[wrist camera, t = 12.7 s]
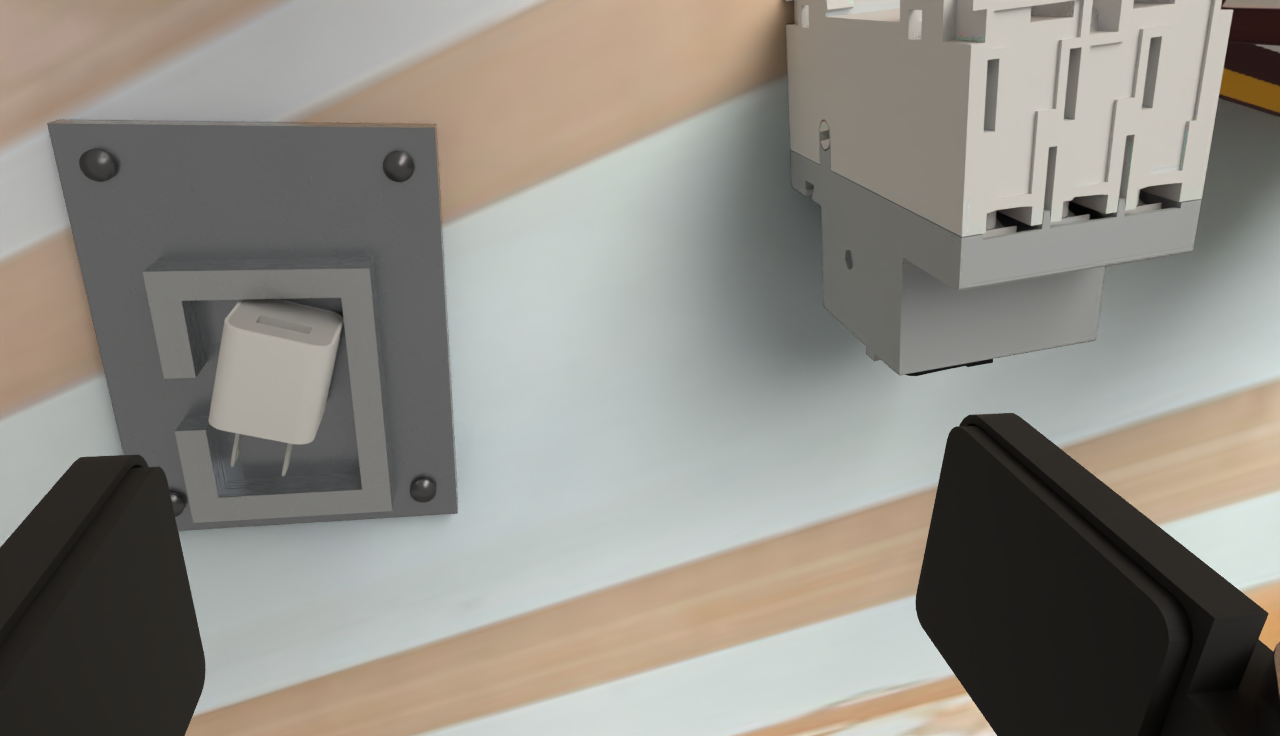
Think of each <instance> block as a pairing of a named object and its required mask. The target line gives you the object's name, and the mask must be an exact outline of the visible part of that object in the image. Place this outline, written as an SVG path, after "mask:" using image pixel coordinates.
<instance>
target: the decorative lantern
mask: <svg viewBox="0 0 1280 736" xmlns="http://www.w3.org/2000/svg"><path fill="white" fill-rule="evenodd" d="M1221 9H1226V10H1233V14H1232V20H1231V26H1230V32H1229V38H1228V44H1227V50H1226V56H1225V62H1224V68H1223V74H1222V80H1221V86H1220V92H1219V98H1221V99H1224V100H1227V101H1230V102H1234V103H1237V104H1240V105H1243V106H1247V107H1250V108H1253V109H1256V110H1259V111H1263V112H1266V113H1269V114H1272V115H1275V116H1279V117H1280V0H1222V4H1221Z"/></svg>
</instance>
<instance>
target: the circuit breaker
mask: <svg viewBox="0 0 1280 736" xmlns="http://www.w3.org/2000/svg"><path fill="white" fill-rule="evenodd" d="M785 1H793V0H785ZM1221 4H1222V0H794V17H795V24H788V25H786V43H787V72H788V100H789V129H790V158H791V185H792V188H794V189H795V190H797V191H798V192H800V193H802V194H803V195H805V196H812V200H813V201H814V202H816V203H817V204H819V205H820V206H821V221H822V265H823V305H824V307H825V308H826V309H827V310H828V311H829V312H830V313H831V314H832V315H833V316H834V317H835V318H837V319H838V320H839V321H840V322H841V323H842V324H843V325H844V326H845V327H846V328H847V329H849V330H850V331H851V332H852V333H853V334H854V335H855V336H856V337H857V338H858V339H859V340H860V341H862V342H863V343H864V344H865V345H866V354H867V355H868V356H869V357H870V358H871V359H872V360H873V361H877V360H882V361H883V362H884V363H885V364H887V365H888V366H889V367H890V368H892V370H893V371H895V372H896V373H897V374H898V375H904V374H905V375H909V376H919V375H923V374H927V373H932V372H937V371H941V370H946V369H951V368H956V367H961V366H967V367H971V366H976V365H981V364H987V363H992V362H993V359H994V358H999V357H1005V356H1011V355H1016V354H1022V353H1028V352H1033V351H1039V350H1045V349H1050V348H1056V347H1061V346H1067V345H1073V344H1078V343H1084V342H1090V341H1094V340H1096V336H1097V328H1098V320H1099V312H1100V304H1101V296H1102V289H1103V281H1104V273H1105V266H1111V265H1117V264H1123V263H1129V262H1135V261H1141V260H1147V259H1153V258H1159V257H1165V256H1171V255H1177V254H1183V253H1189V252H1191V251H1193V248H1194V242H1195V236H1196V230H1197V224H1198V218H1199V212H1200V207H1201V201H1202V200H1201V199H1202V195H1203V189H1204V183H1205V177H1206V171H1207V165H1208V159H1209V153H1210V147H1211V141H1212V135H1213V129H1214V122H1215V116H1216V110H1217V104H1218V98H1219V92H1220V86H1221V80H1222V74H1223V68H1224V62H1225V56H1226V50H1227V44H1228V38H1229V32H1230V26H1231V20H1232V14H1233V10H1226V9H1221Z"/></svg>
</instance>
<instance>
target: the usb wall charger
mask: <svg viewBox="0 0 1280 736" xmlns="http://www.w3.org/2000/svg"><path fill="white" fill-rule="evenodd" d="M343 323H344V318H343V317H342V316H341V315H339V314H337V313H335V312H332V311H328V310H324V309H319V308H315V307H311V306H306V305H302V304H298V303H294V302H289V301H285V300H281V299H244V300H240V301H239V302H238V303H237V304H236V306H235V307H234V308H233V309H232V311H231V312H230V313H229V315H228V316H227V317H226V318H225V321H224V327H223V333H222V340H221V346H220V352H219V358H218V364H217V370H216V377H215V383H214V389H213V395H212V401H211V407H210V414H209V420H208V421H209V424H210V425H211V426H213V427H214V428H216V429H219V430H222V431H227V432H233V433H236V434H235V440H234V446H233V452H232V458H231V464H230V466H231V467H233V466H234V465H235V463H236V461H237V459H238V455H239V449H240V444H241V439H242V434H243V435H248V436H254V437H259V438H264V439H269V440H275V441H280V442H285V443H288V444H287V449H286V454H285V460H284V465H283V470H282V476H285V474H286V472H287V469H288V466H289V461H290V457H291V452H292V447H293V444H307V443H310V442H312V441H313V440H314V438H315V436H316V433H317V430H318V428H319V425H320V422H321V420H322V417H323V414H324V412H325V407H326V402H327V398H328V393H329V388H330V384H331V379H332V374H333V370H334V365H335V360H336V356H337V351H338V346H339V341H340V337H341V332H342V327H343Z"/></svg>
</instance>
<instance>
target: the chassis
mask: <svg viewBox="0 0 1280 736" xmlns="http://www.w3.org/2000/svg"><path fill="white" fill-rule="evenodd" d="M47 124H48V129H49V133H50V137H51V142H52V146H53V150H54V155H55V159H56V163H57V168H58V172H59V176H60V181H61V185H62V189H63V194H64V198H65V202H66V207H67V211H68V215H69V220H70V224H71V228H72V233H73V237H74V241H75V245H76V250H77V254H78V258H79V263H80V267H81V271H82V276H83V280H84V284H85V289H86V293H87V297H88V302H89V306H90V310H91V315H92V319H93V323H94V328H95V332H96V336H97V341H98V345H99V349H100V354H101V358H102V362H103V367H104V371H105V375H106V380H107V384H108V388H109V393H110V397H111V401H112V406H113V410H114V414H115V419H116V423H117V427H118V432H119V436H120V440H121V445H122V449H123V453H124V455H140V456H142V457H143V458H144V459H145V461H146V462H147V464H148V467H161V468H162V469H163V471H164V472H165V474H166V478H167V481H168V486H169V491H170V496H171V500H172V505H173V510H174V515H175V519H176V524H177V529H178V531H180V530H196V529H212V528H228V527H245V526H261V525H277V524H293V523H310V522H326V521H342V520H358V519H375V518H391V517H407V516H423V515H440V514H456V513H458V494H457V476H456V459H455V441H454V424H453V407H452V389H451V372H450V354H449V337H448V319H447V302H446V285H445V267H444V250H443V232H442V215H441V197H440V180H439V163H438V145H437V128H436V124H375V123H294V122H212V121H131V120H56V121H53V122H50V123H47ZM244 299H281V300H285V301H289V302H294V303H298V304H302V305H306V306H311V307H315V308H319V309H324V310H328V311H332V312H335V313H337V314H339V315H341V316H342V317H343V318H344V323H343V327H342V332H341V337H340V341H339V346H338V351H337V356H336V360H335V365H334V370H333V374H332V379H331V384H330V388H329V393H328V398H327V402H326V407H325V412H324V414H323V417H322V420H321V422H320V425H319V428H318V430H317V433H316V436H315V438H314V440H313V441H312V442H310V443H307V444H293V447H292V452H291V457H290V461H289V466H288V469H287V472H286V474H285V476H282V470H283V465H284V460H285V454H286V449H287V444H288V443H285V442H280V441H275V440H269V439H264V438H259V437H254V436H248V435H243V434H242V439H241V444H240V449H239V455H238V459H237V461H236V463H235V465H234V466H233V467H231V466H230V464H231V458H232V452H233V446H234V440H235V434H236V433H233V432H227V431H222V430H219V429H216V428H214V427H213V426H211V425H210V424H209V421H208V420H209V414H210V407H211V401H212V395H213V389H214V383H215V377H216V370H217V364H218V358H219V352H220V346H221V340H222V333H223V327H224V321H225V318H226V317H227V316H228V315H229V313H230V312H231V311H232V309H233V308H234V307H235V306H236V304H237V303H238V302H239V301H240V300H244Z"/></svg>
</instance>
